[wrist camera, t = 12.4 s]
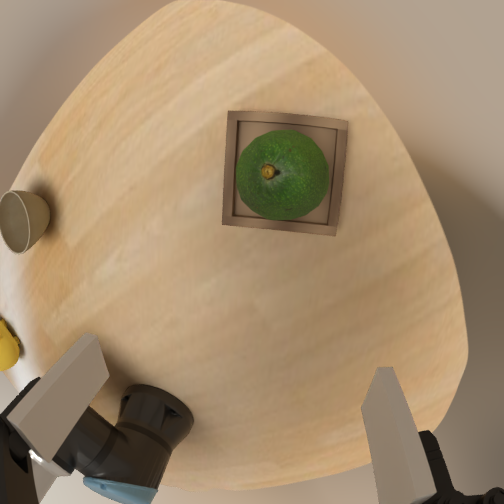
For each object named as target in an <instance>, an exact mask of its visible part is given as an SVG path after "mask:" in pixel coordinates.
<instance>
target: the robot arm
mask: <svg viewBox="0 0 504 504" xmlns="http://www.w3.org/2000/svg"><path fill="white" fill-rule="evenodd" d="M109 376H110V375H109V372H108V369H107V366H106V363H105V360H104V357H103V354H102V350H101V347H100V343H99V340H98V336H97V335H93V334H90V333H85V334H84V335H83V336H82V337H81V338H80V339H79V340H78V341H77V342H76V343H75V344H74V345H73V346H72V347H71V348H70V349H69V350H68V351H67V352H66V353H65V354H64V355H63V356H62V357H61V358H60V359H59V360H58V361H57V362H56V363H55V364H54V365H53V366H52V367H51V368H50V369H49V371H48V372H47V373H46V374H45V375H44V376H43V377H42V378H40V377H38V378H36V379H34V380H32V381H30V382H29V383H28V385H27V386H26V387H25V388H24V390H22V391H21V392H20V393H19V395H17V396H16V398H15V399H14V400H13V401H12V402H11V403H10V404H9V405H8V406H7V408H6V409H5V410H4V411H3V412H2V413H1V414H0V504H39V503H40V502H41V500H42V499H43V497H44V496H45V494H46V493H47V491H48V490H49V488H50V487H51V485H52V484H53V482H54V481H55V479H56V478H57V477H59V476H70V475H71V474H72V472H73V471H74V469H76V470H78V471H79V472H81V473H82V474H83V475H84V476H85V477H84V478H83V483H84V485H85V486H87V487H89V488H90V489H91V490H93V491H94V492H96V493H98V494H100V495H102V496H104V497H107V498H109V499H111V500H114V501H117V502H119V503H122V504H151V502H152V500H153V498H154V496H155V494H156V493H157V492H158V487H159V484H160V482H161V479H162V477H163V474H164V472H165V469H166V466H167V464H168V461H169V459H170V456H171V453H172V451H173V450H174V449H175V447H176V446H177V445H178V444H179V443H180V442H181V441H182V440H183V439H184V438H185V437H186V436H187V435H188V434H189V432H190V430H191V427H192V424H193V417H192V414H191V413H190V411H189V410H188V408H187V407H186V406H185V405H184V404H183V403H182V402H180V401H179V400H178V399H177V398H175V397H174V396H172V395H170V394H169V393H167V392H165V391H162V390H160V389H158V388H155V387H151V386H147V385H133V386H130V387H129V388H128V389H127V390H126V391H125V393H124V395H123V396H122V399H121V403H120V409H119V415H118V421H117V423H116V425H115V427H114V426H113V425H112V424H110V423H109V422H108V421H107V420H105V419H104V418H103V417H102V416H100V415H99V414H98V413H97V412H96V411H95V410H93V409H92V408H91V407H90V406H89V404H90V403H91V401H92V400H93V399H94V397H95V396H96V394H97V393H98V392H99V390H100V389H101V387H102V386H103V385H104V383H105V382H106V380H107V379H108V378H109ZM361 410H362V415H363V419H364V424H365V428H366V433H367V438H368V443H369V448H370V453H371V458H372V464H373V469H374V475H375V481H376V487H377V493H378V500H379V504H504V490H503V489H502V488H499V487H496V488H492V489H491V490H489V491H488V492H487V493H486V494H484V495H472V496H465V495H463V493H461V492H459V491H456V490H455V489H454V487H453V485H452V482H451V479H450V475H449V472H448V470H447V466H446V464H445V461H444V459H443V455H442V452H441V450H440V447H439V444H438V441H437V439H436V437H435V436H434V435H433V434H432V433H431V432H430V431H429V430H426V431H421V432H418V431H417V428H416V425H415V423H414V420H413V417H412V414H411V412H410V409H409V406H408V404H407V401H406V399H405V396H404V394H403V391H402V389H401V386H400V384H399V381H398V379H397V376H396V374H395V372H394V369H393V367H379V368H377V370H376V372H375V375H374V378H373V380H372V383H371V385H370V388H369V390H368V393H367V395H366V397H365V400H364V402H363V404H362V406H361Z"/></svg>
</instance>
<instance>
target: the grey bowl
mask: <svg viewBox="0 0 504 504" xmlns="http://www.w3.org/2000/svg"><path fill="white" fill-rule="evenodd" d="M49 221H50V209H49V206H48V204H47V202H46V201H45V200H44V199H42V198H41V197H39V196H37V195H35V194H32V193H29V192H26V191H7V192H6V193H4V195H3V196H2V198H1V200H0V232H1V235H2V238H3V240H4V242H5V244H6V246H7V247H8V248H9V250H11V251H12V252H13V253H15V254H18V255H19V254H23V253H24V252H26V251H27V250H28V249H30V248H31V247H32V246H33V245H34V244H35V243H36V242H37V241H38V240H39V238H40V237H41V236H42V234H43V233H44V231H45V230H46V228H47V226H48V224H49Z"/></svg>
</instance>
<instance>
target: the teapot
mask: <svg viewBox="0 0 504 504" xmlns="http://www.w3.org/2000/svg"><path fill="white" fill-rule="evenodd" d="M6 327H7V324H6V322H5V320H4V319H2V320H1V321H0V371H4V370H7V369H9V368H11V367H13V366H14V365H15V364H16V363H17V361H18V358H19V352H20V350H19V347H18V345H17V344H20V340H19V339H18V338H17V337H16V336H14V337H13V336H12V335H11V334H10V332H9V331H8V329H7V328H6Z"/></svg>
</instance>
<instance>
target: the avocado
mask: <svg viewBox="0 0 504 504" xmlns="http://www.w3.org/2000/svg"><path fill="white" fill-rule="evenodd" d="M236 185H237V189H238V192H239V195H240V198H241V200H242V201H243V202H244V203H245V204H246V205H247V206H248V207H249V208H250V209H251V210H252V211H253V212H255V213H257V214H259V215H260V216H262V217H264V218H266V219H269V220H291V219H295V218H298V217H302V216H305V215H307V214H308V213H310V212H311V211H312V210H314V209H315V208H317V207H318V206H319V205H320V203H321V201H322V200H323V198H324V197H325V195H326V194H327V191H328V187H329V166H328V163H327V161H326V159H325V157H324V154H323V152H322V150H321V149H320V148H319V147H318V146H317V144H316V143H315V142H314V141H313V140H312V138H310V137H308V136H306V135H304V134H301V133H299V132H297V131H295V130H275V131H270V132H268V133H266V134H263V135H261V136H259V137H256V138H255V139H254V140H253V141H252V142H251V143H250V144H249V145H248V146H247V147H246V148H245V149H244V150H243V151H242V153H241V156H240V158H239V161H238V163H237V165H236Z"/></svg>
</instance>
